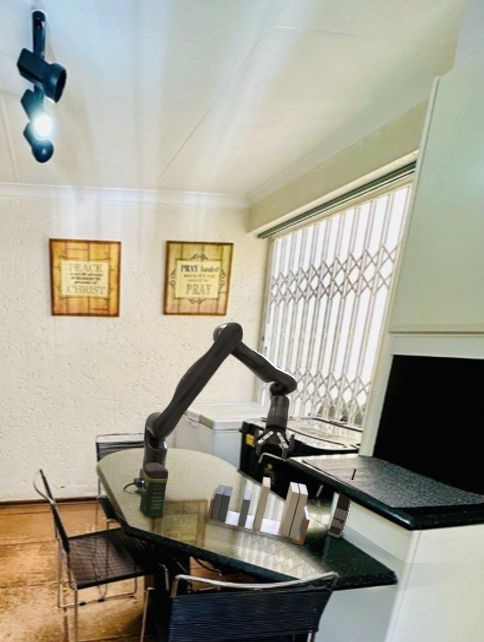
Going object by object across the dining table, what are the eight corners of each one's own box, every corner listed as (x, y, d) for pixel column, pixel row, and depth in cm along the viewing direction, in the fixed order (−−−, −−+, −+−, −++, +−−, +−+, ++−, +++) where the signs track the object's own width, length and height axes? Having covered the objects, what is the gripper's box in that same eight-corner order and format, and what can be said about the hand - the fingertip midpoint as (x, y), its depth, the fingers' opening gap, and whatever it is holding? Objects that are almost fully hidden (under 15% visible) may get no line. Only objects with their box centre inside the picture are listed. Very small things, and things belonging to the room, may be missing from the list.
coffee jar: (165, 518, 140) (172, 469, 134) (144, 518, 139) (150, 469, 132) (156, 506, 149) (162, 460, 143) (137, 507, 147) (142, 460, 141)
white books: (281, 534, 132) (292, 491, 127) (280, 523, 141) (290, 482, 136) (296, 538, 131) (308, 494, 126) (294, 526, 140) (305, 484, 135)
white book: (253, 528, 135) (263, 485, 130) (254, 517, 144) (263, 476, 139) (260, 530, 135) (270, 487, 129) (260, 518, 144) (270, 478, 138)
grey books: (211, 518, 140) (215, 493, 136) (214, 508, 149) (218, 484, 145) (245, 526, 136) (250, 500, 133) (246, 515, 145) (251, 490, 142)
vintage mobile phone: (327, 534, 139) (346, 468, 131) (331, 530, 142) (351, 466, 134) (338, 538, 137) (359, 472, 128) (342, 534, 140) (363, 469, 132)
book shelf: (206, 522, 140) (211, 498, 137) (210, 510, 150) (215, 487, 147) (302, 545, 130) (310, 519, 127) (300, 530, 141) (306, 506, 137)
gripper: (258, 411, 148) (251, 447, 141) (299, 417, 143) (293, 454, 137) (256, 423, 154) (249, 457, 148) (294, 428, 150) (289, 465, 143)
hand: (270, 456), depth 142 cm, fingers open, 8 cm apart
